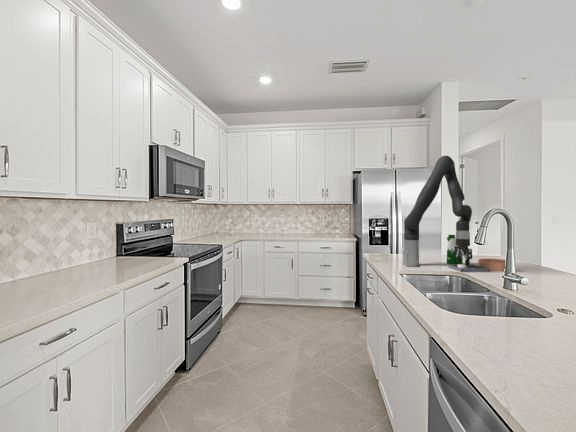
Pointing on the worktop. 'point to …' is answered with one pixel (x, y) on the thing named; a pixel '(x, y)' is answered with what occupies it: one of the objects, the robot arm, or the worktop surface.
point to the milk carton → (452, 250)
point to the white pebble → (461, 266)
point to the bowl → (492, 264)
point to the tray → (470, 268)
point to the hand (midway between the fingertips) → (463, 264)
